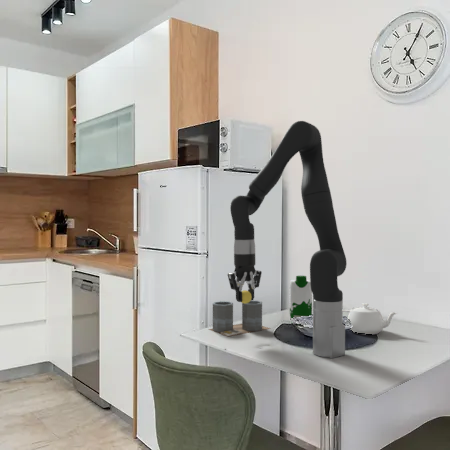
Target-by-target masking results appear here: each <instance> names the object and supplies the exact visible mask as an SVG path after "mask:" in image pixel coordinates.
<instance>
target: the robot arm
mask: <svg viewBox="0 0 450 450" xmlns="http://www.w3.org/2000/svg"><path fill="white" fill-rule="evenodd" d="M298 153H299V156H300V160H301V165H302V178H301V185H300V191H301V198H302V199H301V200H302V204H303V209H304V213H305V215H306V217H307V219H308V221H309V223H310V224H311V226H312V228H313V229H314V232H315V234H316V237H317V239H318V244H319V245H318V246H319V250H317V251H316V252H314V253H313V254H312V256H311V257H310V258H311V259H310V263H309V277H310V278H309V280H310V285H311V291H312V354H314V356H319V357H323V358H331V359H334V358H338V357H341V356H345V355H346V325H345V324H343V323H344V322H343V318H344V317H343V315H344V314H343V313H344V312H343V310H344V309H343V307H344V305H343V300H344V299H343V295H344V294H343V291H342V290H341V289H340V288H339V284H338V277H340V276H342V275H343V274H344V273H345V271H346V268H347V257H346V254H345V251H344V247H343V244H342V241H341V238H340V235H339V230H338V224H337V220H336V215H335V211H334V204H333V199H332V194H331V189H330V185H329V180H328V176H327V175H328V174H327V170H326V167H325V162H324V157H323V144H322V136H321V132H320V130H319V128H318V127H317V126H315V125H314V124H312V123H310V122H308V121H305V120H298V121H296V122H293V123H292V124H291V126H289V128H288V129H287V131H286V132H285V134H284V135H283V137H282V139H281V141H280V142H279V144H278V146H277V147H276V149H275V151H274V152H273V154H272V155H271V156H270V157H269V159H268V161H267V162H266V163H265V165H264V166H263V167H262V169H261V170H260V171H259V172H258V174H256V176H255V177H253V179H252V180H251V182H250V183H249V185H248V189H249V190H248V192H247V193H246V194H245V195H237V196H235V197H233V199H232V200H231V202H230V216H231V220H232V223H233V226H234V227H233V228H234V232H233V233H234V242H233V265H234V271H233V272H228V273H227V277H228V278H227V279H228V282H229V286H230V289H231V290H234V291H235V300H236V302H239V303H242V291H243V287H244V285H245V284H247V288H248V289H247V291H249V292H250V293H251V296H252V298H251V301H254V299H255V289H256V288H259V287H260V282H261V277H262V271H261V270H257V269H256V268H255V266H256V244H255V243H256V242H255V226H254V224H253V223H251V221H250V216H253V214H255V213H256V212H257V211H258V210H259V208H260V207H261V204H262V203H263V201H264V200H265V198H266V196H267V195H268V194H269V193H270V192H271V191H272V189H273V188H274V187H275V186H276V185H277V183H279V180H280V179H281V177H282V175H283V173H284V170H285V168H286V166H287V165H288V163H289V162H290V161H291V159H292V158H294V156H295V155H297V154H298Z"/></svg>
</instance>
